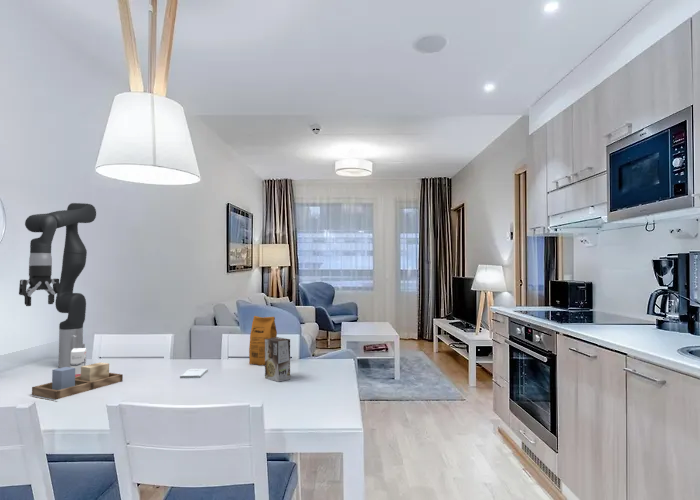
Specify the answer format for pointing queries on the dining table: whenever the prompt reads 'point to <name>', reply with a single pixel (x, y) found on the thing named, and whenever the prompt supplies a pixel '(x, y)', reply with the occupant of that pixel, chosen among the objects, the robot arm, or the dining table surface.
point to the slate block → (63, 378)
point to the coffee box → (277, 359)
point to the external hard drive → (194, 373)
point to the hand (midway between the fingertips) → (39, 305)
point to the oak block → (95, 371)
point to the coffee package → (260, 338)
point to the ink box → (78, 360)
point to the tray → (74, 387)
